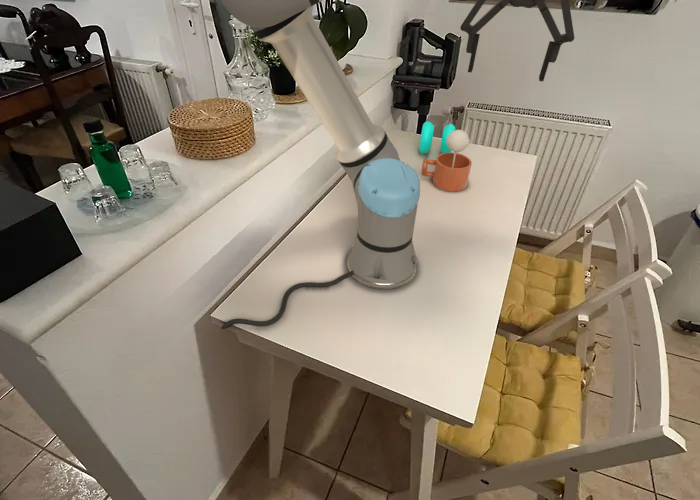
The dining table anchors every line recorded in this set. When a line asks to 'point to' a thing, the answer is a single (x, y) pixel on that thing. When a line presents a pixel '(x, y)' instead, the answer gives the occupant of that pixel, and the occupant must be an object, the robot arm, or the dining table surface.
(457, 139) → the lollipop
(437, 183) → the mug
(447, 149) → the donuts
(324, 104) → the robot arm
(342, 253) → the dining table surface
